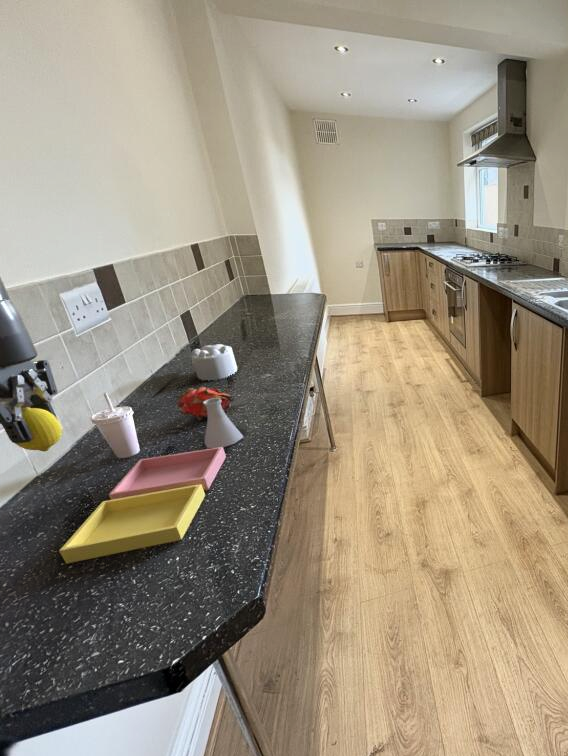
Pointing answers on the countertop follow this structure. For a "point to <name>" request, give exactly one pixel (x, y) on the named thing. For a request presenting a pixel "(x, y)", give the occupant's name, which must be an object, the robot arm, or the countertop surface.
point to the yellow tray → (134, 523)
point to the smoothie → (117, 429)
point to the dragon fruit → (201, 401)
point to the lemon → (41, 429)
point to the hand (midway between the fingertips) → (36, 432)
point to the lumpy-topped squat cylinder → (214, 362)
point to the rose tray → (171, 472)
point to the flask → (219, 426)
